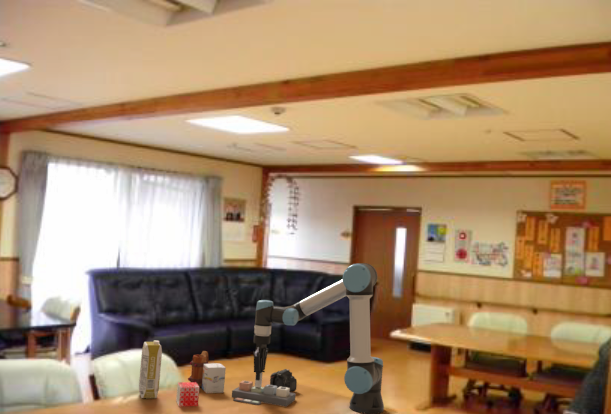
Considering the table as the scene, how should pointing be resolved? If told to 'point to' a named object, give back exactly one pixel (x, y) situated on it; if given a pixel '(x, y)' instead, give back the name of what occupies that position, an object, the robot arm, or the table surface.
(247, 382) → the key terracotta
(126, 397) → the table surface
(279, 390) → the key ivory
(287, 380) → the camera
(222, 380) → the ink box
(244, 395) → the keypad base
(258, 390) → the key sage
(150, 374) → the juice carton
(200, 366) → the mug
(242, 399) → the tile
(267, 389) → the key slate
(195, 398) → the small box
